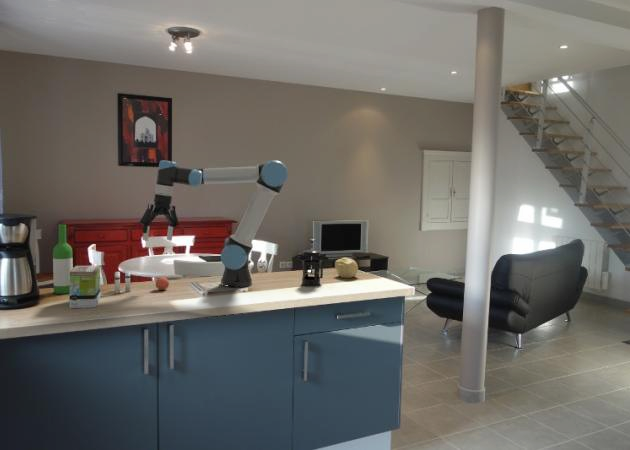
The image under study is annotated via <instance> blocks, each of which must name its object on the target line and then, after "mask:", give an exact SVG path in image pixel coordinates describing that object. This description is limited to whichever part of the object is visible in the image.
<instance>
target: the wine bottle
mask: <svg viewBox="0 0 630 450" xmlns="http://www.w3.org/2000/svg"><path fill="white" fill-rule="evenodd" d="M52 264H53V266H52V272H53V275H52V276H53V277H52V278H53V292H54V293H55V294H57V295H63V294H70V271H71V270H72V269H73V268H74V267H73V265H74V264H73V247H72V246H71V245H70V244H69V243H67V224H58V243H57V244H56V245H55V246H54V248H53V250H52Z"/></svg>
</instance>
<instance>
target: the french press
mask: <svg viewBox="0 0 630 450" xmlns="http://www.w3.org/2000/svg"><path fill="white" fill-rule="evenodd" d="M307 240H308V241H310V243H311V244H314V241H317V239H315V238H308V239H307ZM321 252H322V251H321V250H315V249H306V250H303V251H302V253H303V255H304V256H306V255H308V257H310V258H311V259H303V260H302V277H301V285H302V286H304V287H320V286H321V279H323V275H324V274H323V273H324V261H323V260H318V259H313V258H315V257H317V258H319V257H320V256H321ZM309 266H310V270H309ZM312 266H314V268H313V267H312ZM313 269H314V270H313ZM310 275H311V276H310Z"/></svg>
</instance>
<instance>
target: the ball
mask: <svg viewBox="0 0 630 450" xmlns="http://www.w3.org/2000/svg"><path fill="white" fill-rule="evenodd" d="M169 286H170V281H169V280H168V278H167V277H164V276H161V277H158V278H157V279H156V280H155V287H156V288H157V290H159V291H165V290H166V289H168V288H169Z"/></svg>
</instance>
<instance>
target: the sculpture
mask: <svg viewBox="0 0 630 450" xmlns="http://www.w3.org/2000/svg"><path fill="white" fill-rule="evenodd" d="M358 266H359V265H358V264H357V262H356V260H354V259H352V258H350V257H345V256H344V257H341V258H339V259H337V260H336V261H335V262H334V269H335V270H336V273H337V275H338V277H340V278H344V279H350V278H354V277H356V276H357V274H358V271H359V267H358Z"/></svg>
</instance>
